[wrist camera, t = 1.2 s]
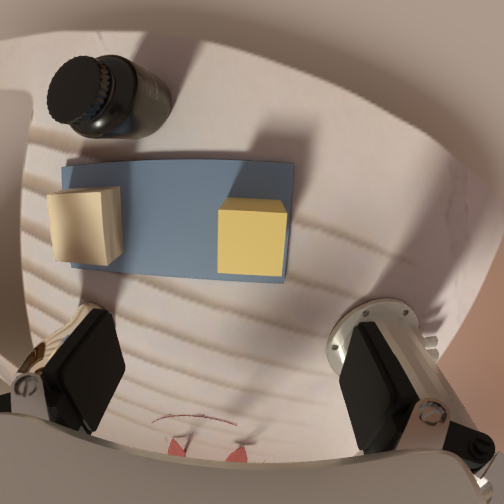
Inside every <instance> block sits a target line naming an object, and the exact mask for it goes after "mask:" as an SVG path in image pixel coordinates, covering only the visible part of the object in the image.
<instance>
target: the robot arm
mask: <svg viewBox="0 0 504 504" xmlns="http://www.w3.org/2000/svg"><path fill="white" fill-rule="evenodd" d="M437 343H438V339H437V337H436V336H431V337H427V338H424V337H423V336H422V335H421V333H420V332H419V323H418V319H417V316H416V314H415V313H414V311H413V310H412V309H411V308H410V307H409V306H408V305H407V304H406V303H404V302H402V301H400V300H397V299H392V298H382V299H377V300H372V301H370V302H367V303H364V304H362V305H360V306H358V307H357V308H355V309H353V310H352V311H351V312H349V313H348V314H347V315H345V316H344V317H343V318H342V319H341V320H340V321H339V323H338V324H337V325H336V327H335V328H334V329H333V331H332V333H331V335H330V337H329V340H328V343H327V351H326V353H327V359H328V362H329V365H330V367H331V368H332V370H333V371H334V372H335V373H336V374H337V375H338V376H340V378H339V383H340V387H341V390H342V394H343V397H344V400H345V403H346V407H347V410H348V414H349V417H350V420H351V424H352V427H353V431H354V434H355V438H356V441H357V445H358V448H359V450H363V452H364V455H362V456H355V457H348V458H339V459H330V460H320V461H308V462H290V463H244V462H226V461H213V460H203V459H195V458H187V457H180V456H174V455H168V454H162V453H157V452H152V451H147V450H142V449H138V448H134V447H130V446H126V445H122V444H118V443H114V442H111V441H107V440H104V439H100V438H97V437H94V436H91V433H92V431H93V432H95V431H96V429H97V428H98V425H99V423H100V421H101V419H102V417H103V415H104V413H105V411H106V409H107V406H108V404H109V402H110V400H111V398H112V396H113V394H114V392H115V390H116V388H117V386H118V384H119V382H120V380H121V378H122V376H123V374H124V372H125V362H124V359H123V356H122V352H121V349H120V345H119V341H118V337H117V334H116V330H115V326H114V322H113V317H112V315H111V314H109V312H108V311H107V310H105V309H98V308H93V309H92V310H91V311H90V312H89V313H88V314H87V316H86V317H85V318H84V319H83V320H82V321H81V323H80V324H79V325H78V326H77V327H76V328H75V329H74V331H73V332H72V333H71V334H70V335H69V337H68V338H67V339H66V340H65V341H64V343H63V344H62V345H61V346H60V347H59V349H58V350H57V351H56V352H55V354H54V355H53V356H52V357H51V359H50V360H49V361H48V362H47V364H46V365H45V366H44V368H43V369H42V370H41V371H42V373H43V375H42V376H41V377H40V376H39V375H38V374H35V373H31V372H29V373H24V374H21V375H19V376H18V377H16V378H15V380H14V381H13V382H12V384H11V392H10V393H7V394H3V395H0V504H504V454H503V453H502V452H501V451H499V452H498V453H496V452H495V445H494V442H493V440H492V439H491V438H490V437H489V436H488V435H486V434H484V433H482V432H480V431H479V429H478V428H477V426H476V425H475V423H474V422H473V420H472V418H471V417H470V415H469V414H468V412H467V410H466V409H465V407H464V405H463V404H462V402H461V401H460V399H459V398H458V396H457V394H456V393H455V391H454V390H453V388H452V387H451V385H450V384H449V383H448V380H447V379H446V378H445V376H444V375H443V373H442V372H441V370H440V369H439V367H438V366H437V364H436V363H435V362H436V361H437V360H438V357H439V353H438V350H437V349H429V350H426V349H425V347H434V346H436V345H437Z"/></svg>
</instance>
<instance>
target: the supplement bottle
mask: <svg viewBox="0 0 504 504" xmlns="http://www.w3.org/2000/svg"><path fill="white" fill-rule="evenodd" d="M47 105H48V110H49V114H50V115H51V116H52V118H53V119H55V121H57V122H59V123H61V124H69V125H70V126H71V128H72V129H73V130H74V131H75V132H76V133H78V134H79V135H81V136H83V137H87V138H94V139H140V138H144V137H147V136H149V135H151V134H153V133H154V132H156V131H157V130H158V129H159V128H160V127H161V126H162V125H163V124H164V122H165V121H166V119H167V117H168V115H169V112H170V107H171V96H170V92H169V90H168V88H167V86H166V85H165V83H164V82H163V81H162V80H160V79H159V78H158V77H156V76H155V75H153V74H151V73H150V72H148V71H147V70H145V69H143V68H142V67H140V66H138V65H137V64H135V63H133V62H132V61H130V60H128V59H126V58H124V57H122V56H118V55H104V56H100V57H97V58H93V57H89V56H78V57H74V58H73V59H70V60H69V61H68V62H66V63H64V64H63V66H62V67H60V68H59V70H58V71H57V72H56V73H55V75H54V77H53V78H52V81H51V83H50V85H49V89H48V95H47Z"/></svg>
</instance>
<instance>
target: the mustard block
mask: <svg viewBox="0 0 504 504" xmlns="http://www.w3.org/2000/svg"><path fill="white" fill-rule="evenodd" d="M286 223H287V212H286V210H285V208H284V206H283V204H282V202H281V200H270V199H253V198H231V197H227V198H226V199H225V201H224V202H223V204H222V205H221V207H220V208H219V209H218V272H217V273H227V274H244V275H263V276H282V267H283V256H284V246H285V234H286Z"/></svg>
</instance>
